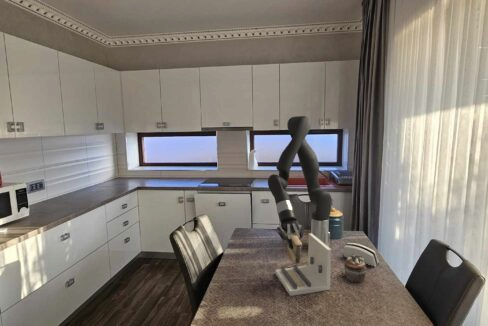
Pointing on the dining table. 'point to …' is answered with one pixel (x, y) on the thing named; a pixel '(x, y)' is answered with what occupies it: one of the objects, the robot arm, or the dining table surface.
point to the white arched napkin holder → (361, 253)
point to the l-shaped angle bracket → (309, 271)
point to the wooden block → (295, 249)
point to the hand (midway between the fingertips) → (295, 247)
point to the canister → (336, 224)
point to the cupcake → (355, 268)
